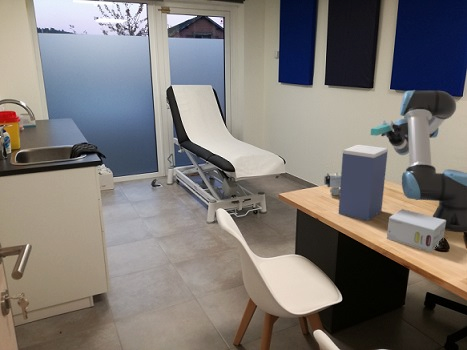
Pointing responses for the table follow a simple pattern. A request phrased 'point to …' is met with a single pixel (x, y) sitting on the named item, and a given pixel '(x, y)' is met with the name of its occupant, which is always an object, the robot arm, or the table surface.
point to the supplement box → (416, 229)
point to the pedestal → (362, 181)
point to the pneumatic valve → (333, 183)
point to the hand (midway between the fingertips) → (386, 122)
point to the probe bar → (380, 129)
